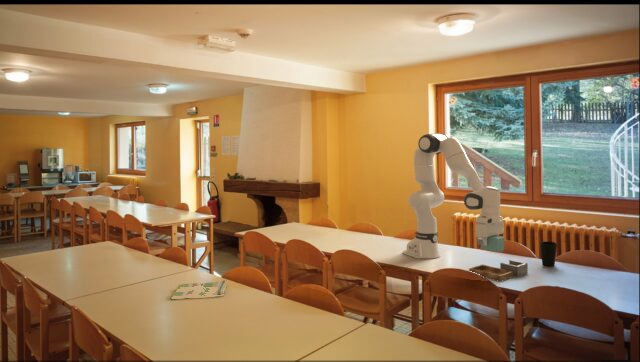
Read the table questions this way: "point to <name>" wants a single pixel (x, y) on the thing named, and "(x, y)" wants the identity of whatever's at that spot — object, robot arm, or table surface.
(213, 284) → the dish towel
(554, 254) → the cup
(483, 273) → the tray
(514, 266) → the bay
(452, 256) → the table surface
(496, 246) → the green rectangular block
